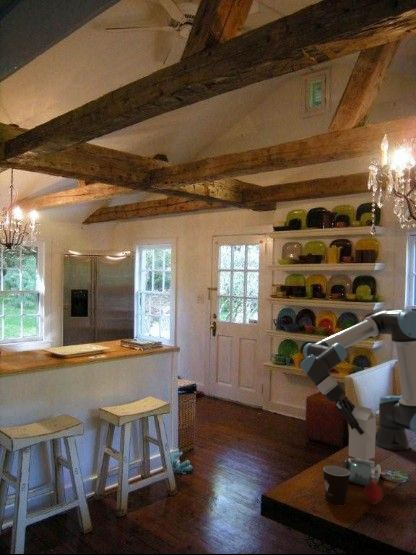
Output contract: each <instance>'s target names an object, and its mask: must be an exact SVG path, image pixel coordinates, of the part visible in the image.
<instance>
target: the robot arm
mask: <svg viewBox="0 0 416 555" xmlns="http://www.w3.org/2000/svg"><path fill="white" fill-rule="evenodd" d="M381 335H390V336H391V337H390V338H391V342H392V343H394V344H395V349H396V356H397V364H398V365H397V366H398V372H399V383H400V391H401V395H389V394H387V395H382V396H380V397H379V404H378V406H379V407H378V428H377V430H376V431H375V446H378V447H380V448H383V449H387V450H393V451H407V450H409V449H410V442H409V439H408V435H407V432H406V431H407V430H408V431H411V432H412V433H413V434H414V433H415V434H416V311H415V310H410V309H391V308H390V309H389V308H388V309H383V310H380V311H378V312H376V313H373V314H371V315H369V316H366V317H364V318H363V320H362V321H361V322H358V323H357V324H356V323H355V325H352V326H350V327H348V328H346V329H344V330H341V331H339V332H337V333H335V334H332V335H330V336H329V337H328V336H327V337H326V338H324V339H322V340H319V341H317V342H315V343H314V342H308V343H306V344H305V345H304V346H303V350H302V354H303V357H305V359H303V360H302V361H301V362H300V363H299V364H300V365H299V367H300V368H301V370H302V371H303V373H304V374H305V375H306V376H307V378H309V380H310V381H311V382H312V383H313V384H314V386H316V387H317V391H318V392H320V393H321V394H322V395H324V398H325V399H326V400H327V401H328V402H329V403H330V404H331V403H332V402H334V403H335V406H334V407H335V408H336V409H337V411H338V412H339V413H340V414H341V416H342V417H343V418H344V420H345V421H346V423H347V424H348V425H350V427H351V429H355V430H356V431H357V432H358V433H359V435H360V436H361V437H362V438H363V439H364V441H365V442H366V443H367V442H369V441H370V440H371V439H372V437H371V436H370V435H369V434H368V433H367V431H366V430H365V429H364V428H363V427H362V425H361V424H359V423H358V422H357V420H356V419H355V417H354V416H353V414H352V411H353V410H354V408H355V404H354V403H352V402H351V400H350V399H349V398H348V396H344V395H343V394H344V393H345V389H343V387H342V386H341V385H340V384H338V381H337V380H336V379H335V378H334V376H333V375H331V373H329V372H330V371H331V370H333V369H334V368H335V367H337V366H338V365H339V364H341V363H343V361H344V360H345V359H347V357H348V352H347V348H350V347H351V346H352V345H355V344H357V343H360V342H361V341H364V340H366V339H368V338H371V337H373V338H375V337H377V336H381Z"/></svg>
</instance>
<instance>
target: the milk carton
mask: <svg viewBox="0 0 416 555" xmlns="http://www.w3.org/2000/svg"><path fill="white" fill-rule="evenodd" d="M354 406H355V408H354V410H353V411H352V414H353V416H354V417H355V419H356V420H357V422H358V423H359V424H361V425H362V427H363V428H364V429H365V430H366V431H367V433H368V434H369V435H370V436H371V437H372V439H371V440H370V441H369V442H367V443H366V442H365V441H364V439H363V438H362V437H361V436H360V435H359V433H358V432H357V431H356V430H355V429H351V427H350V425H349V424H348V425H349V429H348V430H349V432H348V456H349V457H353V458H354V459H356V458H358V459H361V460H364V461H366V460H369V461H370V460H371V459H373V458H375V457H376V456H375V455H376V444H375V435H376V433H375V431H376V432H377V430H376V428H377V427H376V424H377V422H376V421H377V418H376V416H375V415H374V413H373V410H372V408H371V407H366V406H363V405H362V406H361V405H357V404H354Z"/></svg>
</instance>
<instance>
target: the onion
mask: <svg viewBox="0 0 416 555" xmlns="http://www.w3.org/2000/svg"><path fill="white" fill-rule="evenodd" d="M363 495H364V497H365V499H366V500H367V501H368V502H369V503H370V504H371V505H376V504H378V503H380V502H381V501H382V499H383V496H384V492H383V490H382V487H381V486H380V485H379V484H378V483H376V480H372V482H370V483H368V484H367V485H366V486H365V487H364V489H363Z"/></svg>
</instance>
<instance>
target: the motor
mask: <svg viewBox="0 0 416 555" xmlns="http://www.w3.org/2000/svg"><path fill="white" fill-rule="evenodd" d="M342 468H345V469H347V470H349V471H350V477H349V483H350V484H356V485H359V486H366V485H367V484H368V483H370V482H372V480H376V483H377V484H378V482H379V480H380V477H381V475H380V474H382V468H381V464H376V466H375V461H373V460H370V459H369V460H366V461H364V460H361V459H358V458H345V459H344V460H343V465H342Z"/></svg>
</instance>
